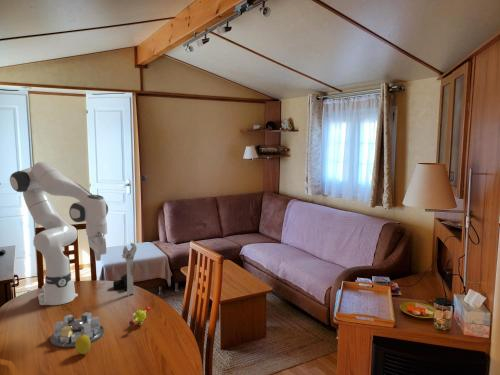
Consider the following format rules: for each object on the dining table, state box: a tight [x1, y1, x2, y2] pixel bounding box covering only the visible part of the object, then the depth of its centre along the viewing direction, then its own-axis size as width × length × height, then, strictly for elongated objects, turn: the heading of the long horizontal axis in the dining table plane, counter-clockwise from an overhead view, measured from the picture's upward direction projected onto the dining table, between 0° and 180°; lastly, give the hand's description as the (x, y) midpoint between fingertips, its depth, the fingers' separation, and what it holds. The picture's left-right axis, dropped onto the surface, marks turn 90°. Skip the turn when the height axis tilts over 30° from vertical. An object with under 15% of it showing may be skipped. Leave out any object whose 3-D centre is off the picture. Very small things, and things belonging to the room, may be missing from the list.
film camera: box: [112, 273, 127, 292], centre depth 223 cm, size 15×10×9 cm, turn 20°
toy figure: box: [128, 306, 151, 327], centre depth 179 cm, size 18×6×7 cm, turn 169°
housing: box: [49, 320, 105, 349], centre depth 168 cm, size 21×21×6 cm
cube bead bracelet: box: [53, 312, 101, 343], centre depth 168 cm, size 18×18×6 cm
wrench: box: [121, 242, 137, 297], centre depth 211 cm, size 8×2×30 cm, turn 134°
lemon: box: [74, 335, 92, 355], centre depth 152 cm, size 6×6×8 cm
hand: (97, 260), depth 180 cm, fingers closed
